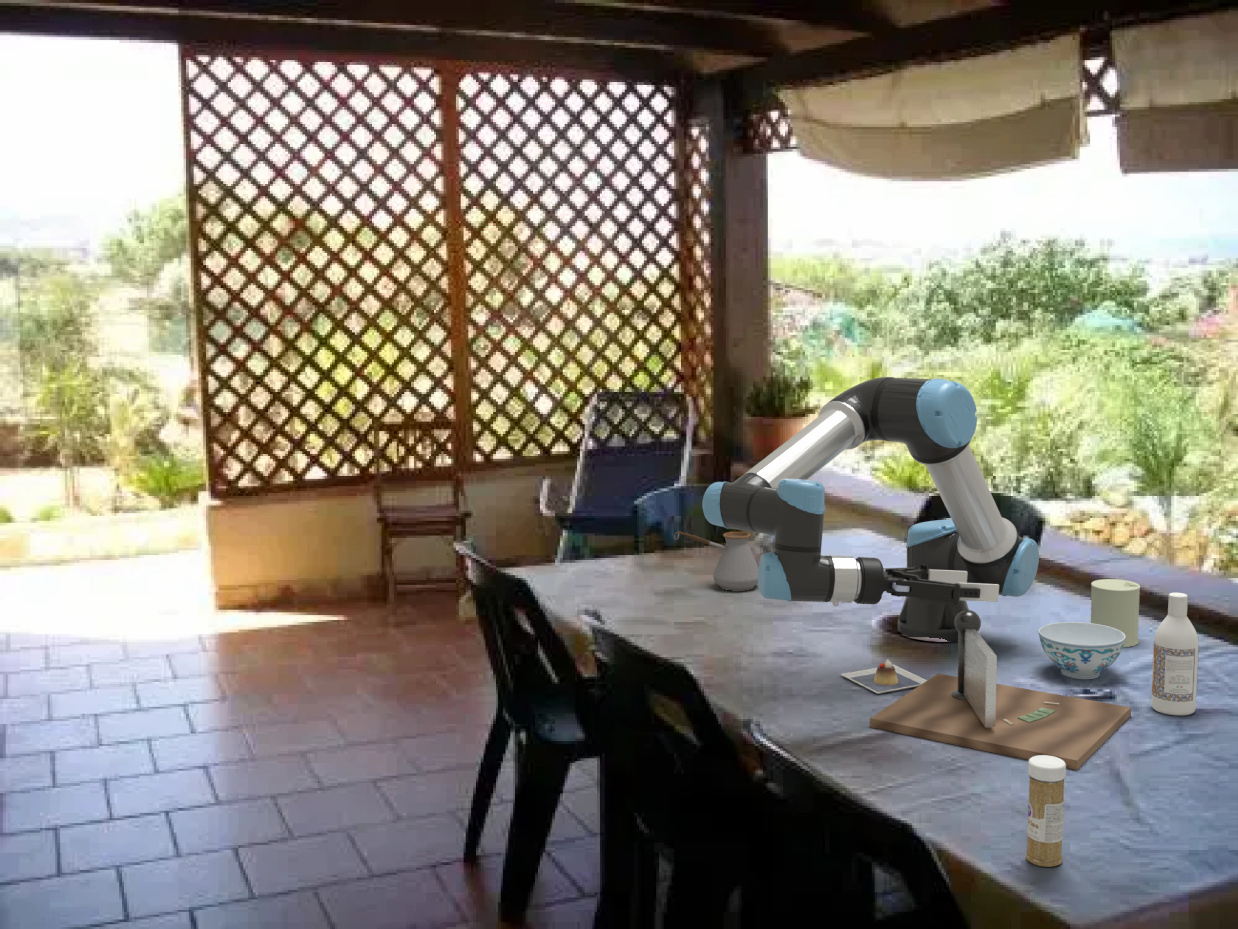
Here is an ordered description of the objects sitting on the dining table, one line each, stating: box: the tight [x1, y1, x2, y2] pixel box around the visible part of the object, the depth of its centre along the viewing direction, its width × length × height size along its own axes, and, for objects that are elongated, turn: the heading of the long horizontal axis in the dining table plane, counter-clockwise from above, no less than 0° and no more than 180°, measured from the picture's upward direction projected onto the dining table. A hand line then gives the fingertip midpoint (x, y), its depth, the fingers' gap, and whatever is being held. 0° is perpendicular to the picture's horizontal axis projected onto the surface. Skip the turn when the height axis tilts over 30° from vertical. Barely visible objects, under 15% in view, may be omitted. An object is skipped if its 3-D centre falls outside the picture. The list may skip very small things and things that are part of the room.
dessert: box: [840, 659, 928, 695], centre depth 241 cm, size 12×12×5 cm
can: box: [1090, 578, 1141, 648], centre depth 261 cm, size 9×9×12 cm
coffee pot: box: [673, 530, 759, 592], centre depth 309 cm, size 21×12×15 cm, turn 109°
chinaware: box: [1038, 621, 1125, 680], centre depth 242 cm, size 15×15×8 cm
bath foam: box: [1150, 592, 1200, 716], centre depth 221 cm, size 7×7×20 cm
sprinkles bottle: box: [1025, 755, 1067, 868], centre depth 168 cm, size 5×5×13 cm
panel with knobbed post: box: [954, 609, 998, 727], centre depth 219 cm, size 20×4×14 cm, turn 177°
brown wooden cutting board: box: [869, 673, 1132, 771], centre depth 219 cm, size 34×28×2 cm
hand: (981, 586), depth 215 cm, fingers open, 13 cm apart
